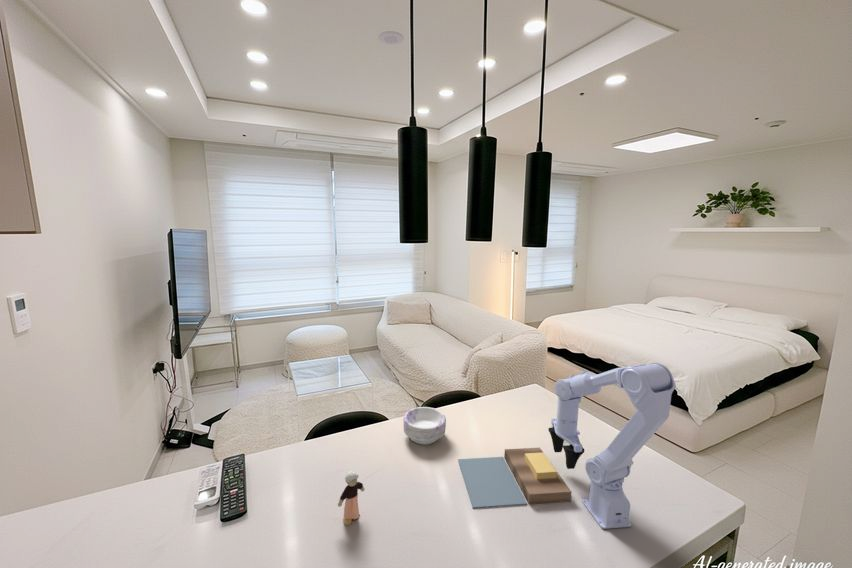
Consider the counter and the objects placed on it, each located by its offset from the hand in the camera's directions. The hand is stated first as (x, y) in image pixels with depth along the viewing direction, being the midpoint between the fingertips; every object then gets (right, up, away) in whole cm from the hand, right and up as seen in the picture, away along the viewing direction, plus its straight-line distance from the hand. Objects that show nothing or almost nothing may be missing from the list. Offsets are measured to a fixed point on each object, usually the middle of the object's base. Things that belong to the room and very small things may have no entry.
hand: (563, 459), depth 104 cm
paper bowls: (-42, -2, +20) cm, 47 cm away
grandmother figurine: (-61, -7, -16) cm, 63 cm away
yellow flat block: (-7, -2, -1) cm, 8 cm away
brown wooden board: (-9, -5, 0) cm, 10 cm away
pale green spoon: (+8, -3, +21) cm, 23 cm away
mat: (-23, -5, -2) cm, 24 cm away
